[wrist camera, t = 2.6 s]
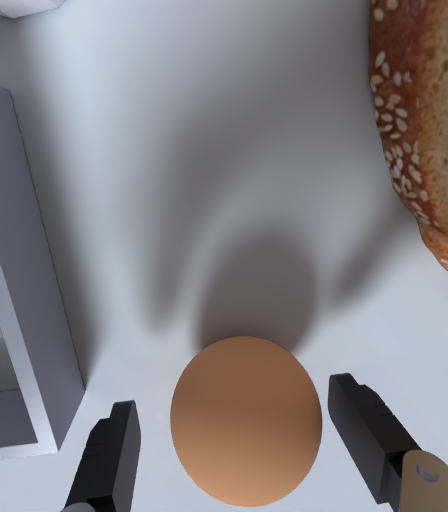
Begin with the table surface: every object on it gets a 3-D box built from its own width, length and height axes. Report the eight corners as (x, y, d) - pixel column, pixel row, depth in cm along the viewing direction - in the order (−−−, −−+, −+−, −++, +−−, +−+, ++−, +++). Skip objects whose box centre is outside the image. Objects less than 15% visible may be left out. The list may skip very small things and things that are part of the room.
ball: (294, 304, 15) (359, 399, 9) (293, 404, 17) (346, 535, 11) (167, 317, 14) (151, 425, 9) (180, 419, 16) (175, 562, 10)
